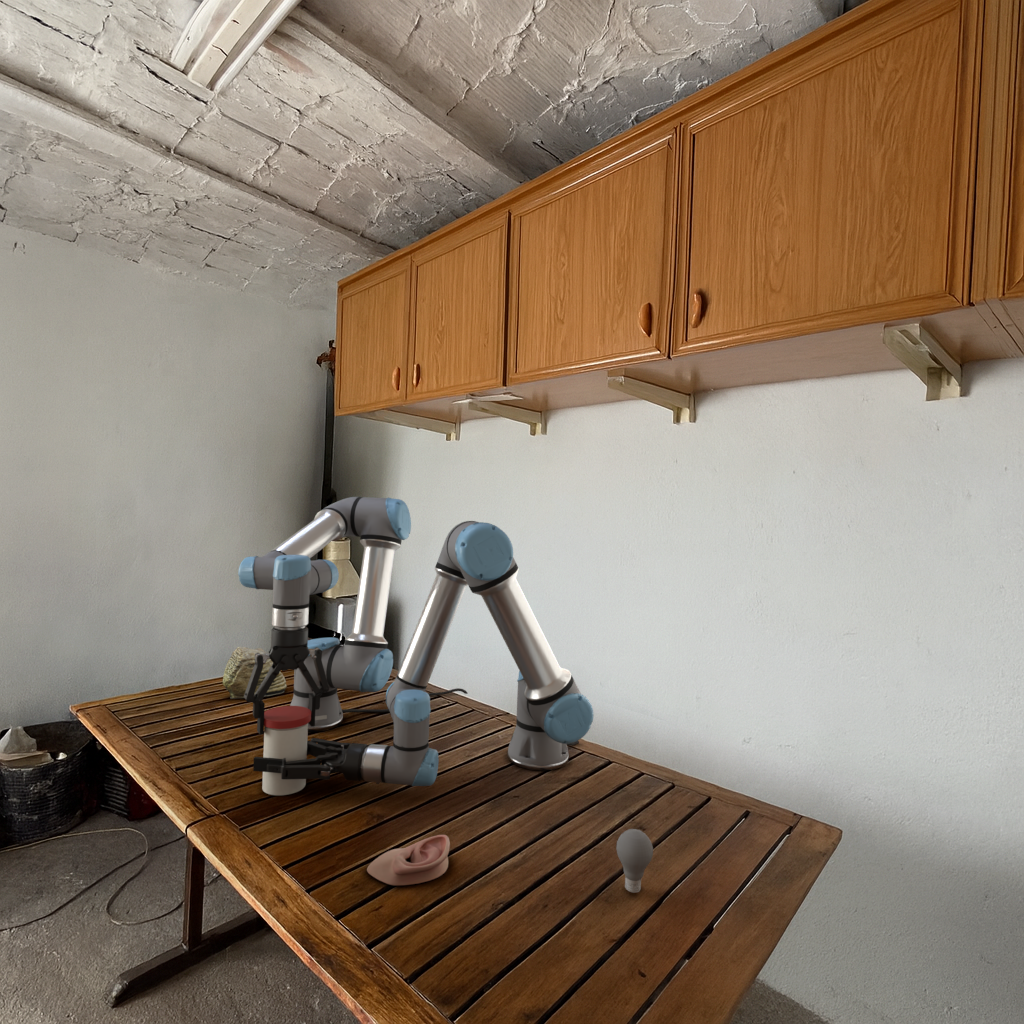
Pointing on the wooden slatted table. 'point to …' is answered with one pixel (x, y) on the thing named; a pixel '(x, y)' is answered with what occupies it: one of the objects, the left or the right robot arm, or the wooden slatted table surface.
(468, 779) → the wooden slatted table surface
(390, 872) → the anatomical model
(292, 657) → the left robot arm
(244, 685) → the fossil
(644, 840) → the light bulb
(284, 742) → the jar
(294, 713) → the lid
